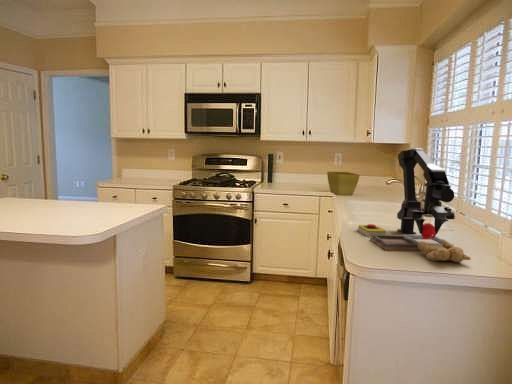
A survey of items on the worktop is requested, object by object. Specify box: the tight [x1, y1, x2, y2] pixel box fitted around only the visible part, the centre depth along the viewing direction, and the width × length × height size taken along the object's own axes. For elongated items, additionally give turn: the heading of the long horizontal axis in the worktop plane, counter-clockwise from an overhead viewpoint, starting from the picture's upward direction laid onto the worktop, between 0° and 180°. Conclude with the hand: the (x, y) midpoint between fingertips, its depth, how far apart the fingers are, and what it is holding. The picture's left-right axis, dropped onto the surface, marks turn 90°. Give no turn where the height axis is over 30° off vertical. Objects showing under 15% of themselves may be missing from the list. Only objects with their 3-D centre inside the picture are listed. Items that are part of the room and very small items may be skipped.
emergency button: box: [356, 223, 387, 238], centre depth 173 cm, size 9×4×15 cm
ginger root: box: [418, 238, 472, 263], centre depth 138 cm, size 16×16×8 cm
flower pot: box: [326, 171, 361, 196], centre depth 297 cm, size 19×19×17 cm
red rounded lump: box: [420, 222, 437, 240], centre depth 161 cm, size 8×6×6 cm
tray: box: [402, 234, 455, 247], centre depth 162 cm, size 15×15×2 cm
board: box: [369, 234, 422, 252], centre depth 155 cm, size 15×15×2 cm
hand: (428, 234), depth 161 cm, fingers closed on red rounded lump, 6 cm apart
